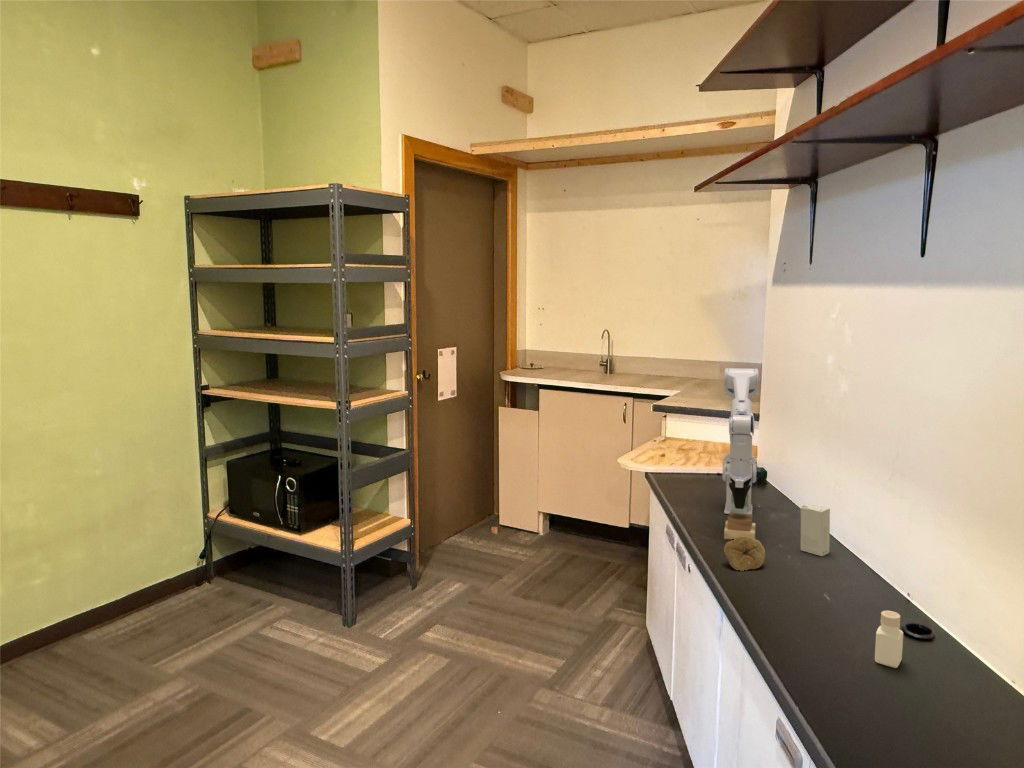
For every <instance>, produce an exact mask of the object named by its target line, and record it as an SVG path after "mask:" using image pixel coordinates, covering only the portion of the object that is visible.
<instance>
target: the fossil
mask: <svg viewBox="0 0 1024 768" xmlns="http://www.w3.org/2000/svg"><path fill="white" fill-rule="evenodd" d="M723 552H724V555H725V557H726V559H727V561H728V563H729V565H730V566H731V567H732V568H733V569H734V570H736V571H738V570H740V571H739V572H745V571H748V570H756V569H758V568H760V567H761V566H762V565H763V564H764V563H765V557H766V550H765V547H764V546H763V544H762V543H761V541H760V540H758V539H756V538H755V539H753V538H751V537H748V536H739V537H737V538H735V539H734V540H732V539H731V540H730V541H727V542H726V543H725V545H724V548H723ZM744 570H745V571H744Z"/></svg>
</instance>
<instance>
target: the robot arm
mask: <svg viewBox="0 0 1024 768" xmlns="http://www.w3.org/2000/svg"><path fill="white" fill-rule="evenodd" d="M759 373H760V372H759V369H758V368H756V367H755V368H742V367H741V368H737V367H736V368H735V367H732V368H731V367H730V368H728V367H726V368H725V369H724V376H723V377H724V379H723V380H724V381H723V382H724V383H723V386H724V393H725V395H726V396H728V397H730V399H731V400H732V401H731V403H730V416H729V418H728V419H729V420H728V434H729V442H730V443H729V452H728V453H727V454H726V453H725V455H724V456H723V459H722V460H723V461H722V480H723V482H725V483H726V493H725V495H726V497H725V498H726V499H725V500H726V501H725V505H724V506H725V507H724V510H723V514H727V515H729V513H730V512H731V495H732V494H733V499H734V505H735V508H736V509H743V508H744V505H745V499H746V495H747V493H749V509H748V512H747V513H746V514H752V515H753V504H752V485H753V484H755V483H756V482H757V459H756V457H755V456H754V455H753V436H754V434H755V417H754V413H753V402H752V401H751V399H750V398H753V397H755V396H757V393H758V388H759V377H760V376H759Z"/></svg>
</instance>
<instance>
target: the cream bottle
mask: <svg viewBox="0 0 1024 768" xmlns="http://www.w3.org/2000/svg"><path fill="white" fill-rule="evenodd" d="M880 614H881V615H880V625H879V626H878V628H877V630H876V632H875V646H874V648H875V649H874V661H875V662H876V664H880V665H884V666H887V667H890V668H893V669H897V668H898V667H899V666H900V664H901V661H902V659H903V646H904V632H903V630H901V629H900V626H901V614H899V612H896V611H892V610H882V611H881V612H880Z"/></svg>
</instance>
